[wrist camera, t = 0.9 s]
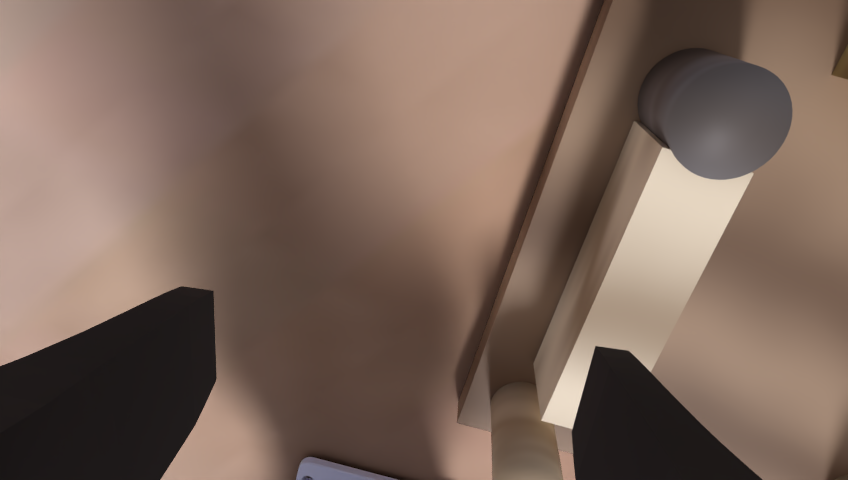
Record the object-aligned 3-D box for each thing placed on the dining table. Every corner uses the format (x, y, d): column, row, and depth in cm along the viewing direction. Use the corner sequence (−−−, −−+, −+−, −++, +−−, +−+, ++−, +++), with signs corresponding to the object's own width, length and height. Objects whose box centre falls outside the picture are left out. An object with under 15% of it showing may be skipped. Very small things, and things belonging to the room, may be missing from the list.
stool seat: (862, 511, 24) (953, 640, 20) (458, 402, 24) (452, 508, 19) (1185, 104, 18) (1446, 153, 13) (625, -60, 17) (682, -73, 12)
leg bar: (661, 35, 17) (700, 48, 14) (757, 63, 17) (815, 82, 14) (528, 362, 21) (535, 423, 19) (603, 382, 22) (622, 446, 19)
